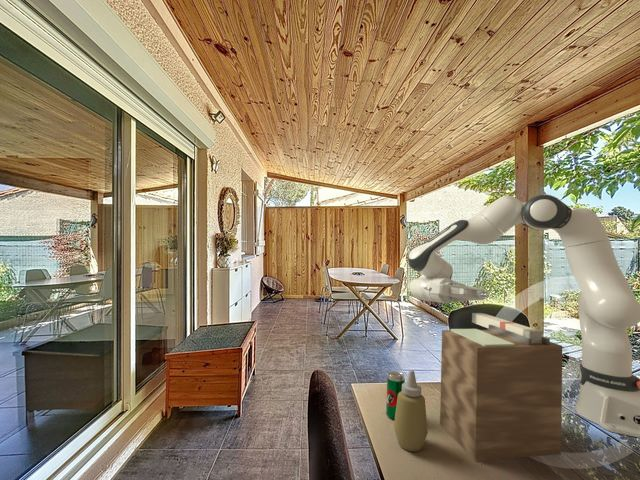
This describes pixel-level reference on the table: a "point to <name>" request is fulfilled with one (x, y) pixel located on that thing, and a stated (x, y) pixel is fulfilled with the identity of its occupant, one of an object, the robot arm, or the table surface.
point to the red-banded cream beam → (507, 326)
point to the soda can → (393, 392)
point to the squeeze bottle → (410, 416)
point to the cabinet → (502, 395)
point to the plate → (482, 337)
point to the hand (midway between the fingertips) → (476, 293)
